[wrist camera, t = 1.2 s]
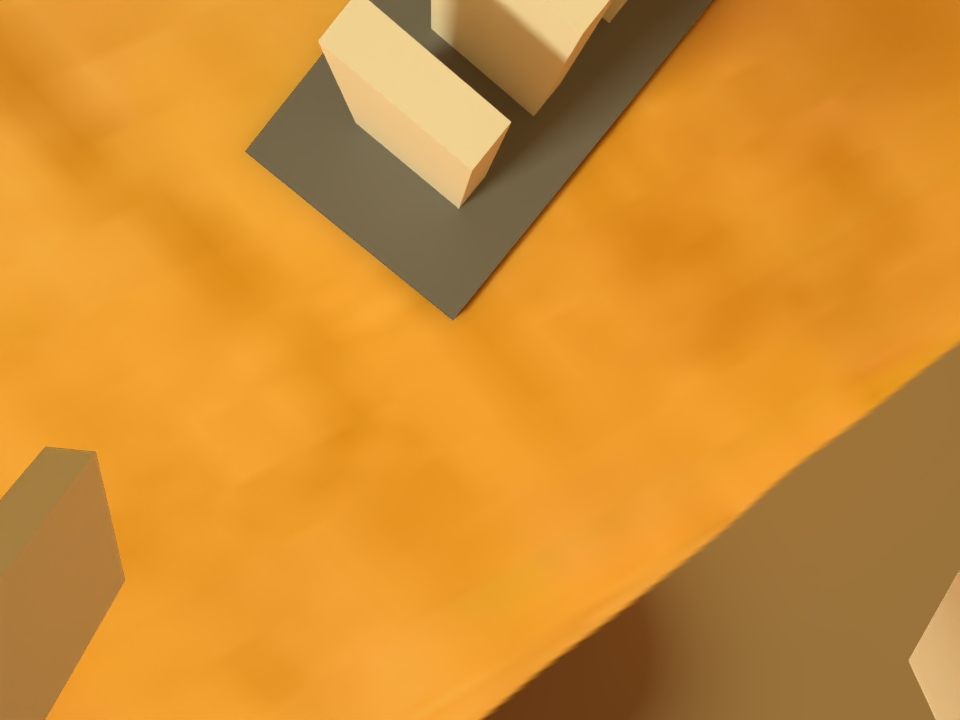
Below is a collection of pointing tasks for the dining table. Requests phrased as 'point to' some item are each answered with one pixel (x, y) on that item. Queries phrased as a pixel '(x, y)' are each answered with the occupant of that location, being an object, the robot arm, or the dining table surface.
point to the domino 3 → (613, 9)
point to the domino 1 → (412, 101)
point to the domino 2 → (519, 40)
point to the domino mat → (514, 170)
